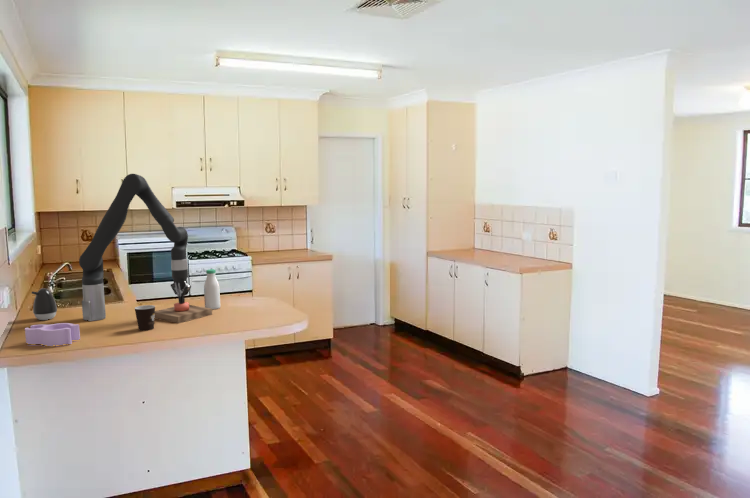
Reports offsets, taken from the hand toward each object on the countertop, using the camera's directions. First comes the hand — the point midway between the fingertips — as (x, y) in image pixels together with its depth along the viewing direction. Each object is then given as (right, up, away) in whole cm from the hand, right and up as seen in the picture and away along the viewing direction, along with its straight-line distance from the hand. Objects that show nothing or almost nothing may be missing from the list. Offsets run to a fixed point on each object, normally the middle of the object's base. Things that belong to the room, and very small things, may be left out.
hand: (181, 303), depth 297 cm
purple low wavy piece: (-40, -13, -42) cm, 60 cm away
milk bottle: (+10, -4, +18) cm, 21 cm away
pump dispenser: (-66, -8, 0) cm, 66 cm away
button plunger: (0, -3, 0) cm, 3 cm away
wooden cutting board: (0, -6, +1) cm, 6 cm away
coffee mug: (-8, -9, -21) cm, 25 cm away
